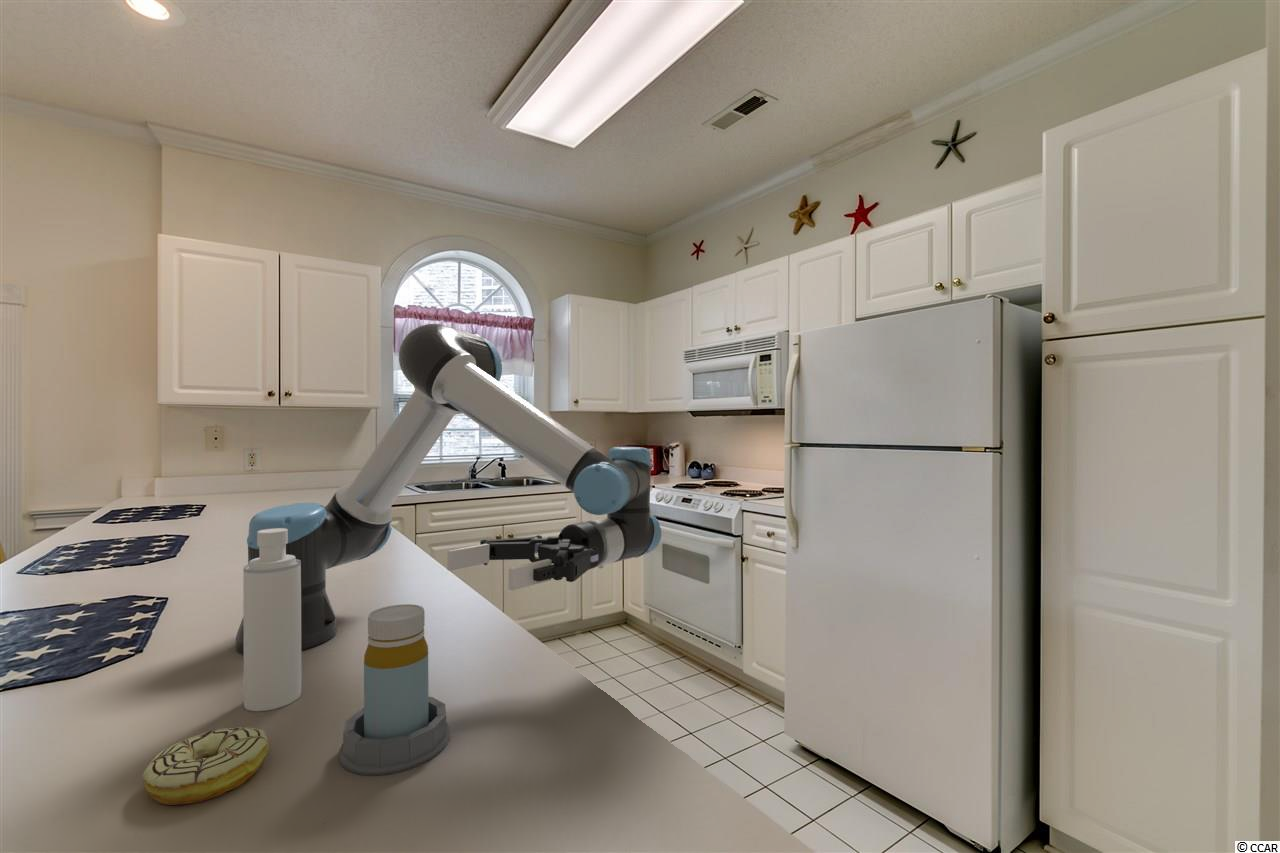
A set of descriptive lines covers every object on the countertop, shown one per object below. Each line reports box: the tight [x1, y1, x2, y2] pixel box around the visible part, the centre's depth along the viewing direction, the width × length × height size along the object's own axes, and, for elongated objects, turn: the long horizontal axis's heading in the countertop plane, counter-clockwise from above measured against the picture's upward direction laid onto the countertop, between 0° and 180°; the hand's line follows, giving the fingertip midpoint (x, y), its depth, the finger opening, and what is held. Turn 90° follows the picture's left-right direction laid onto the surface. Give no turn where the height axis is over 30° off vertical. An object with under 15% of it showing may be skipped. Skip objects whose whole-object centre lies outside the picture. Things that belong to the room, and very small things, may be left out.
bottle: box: [363, 603, 429, 740], centre depth 67 cm, size 7×7×15 cm
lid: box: [339, 696, 451, 776], centre depth 67 cm, size 12×12×3 cm
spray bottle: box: [242, 528, 302, 712], centre depth 78 cm, size 7×7×25 cm
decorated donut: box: [142, 726, 270, 806], centre depth 61 cm, size 10×11×4 cm
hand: (477, 569), depth 75 cm, fingers open, 13 cm apart
